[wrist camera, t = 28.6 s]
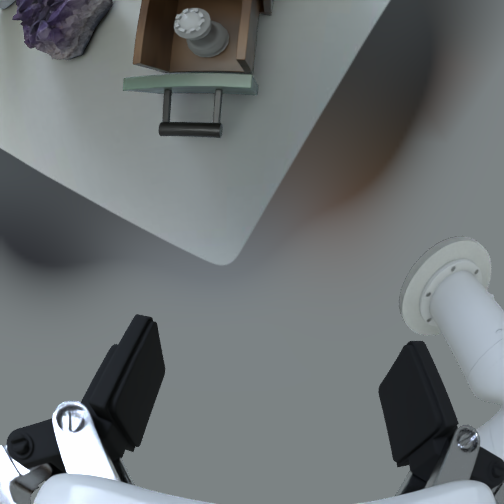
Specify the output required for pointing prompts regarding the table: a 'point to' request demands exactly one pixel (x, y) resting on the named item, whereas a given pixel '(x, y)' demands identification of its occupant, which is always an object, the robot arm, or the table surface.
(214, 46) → the rook chess piece
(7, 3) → the can
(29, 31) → the geode
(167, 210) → the table surface
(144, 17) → the drawer
